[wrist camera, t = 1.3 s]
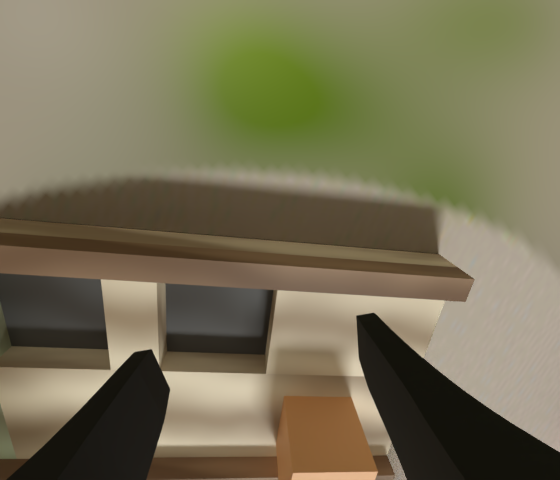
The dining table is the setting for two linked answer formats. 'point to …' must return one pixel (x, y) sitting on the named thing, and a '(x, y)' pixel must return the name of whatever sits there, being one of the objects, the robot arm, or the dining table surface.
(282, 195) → the dining table surface
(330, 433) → the block
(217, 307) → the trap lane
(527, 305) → the dining table surface
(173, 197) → the dining table surface
